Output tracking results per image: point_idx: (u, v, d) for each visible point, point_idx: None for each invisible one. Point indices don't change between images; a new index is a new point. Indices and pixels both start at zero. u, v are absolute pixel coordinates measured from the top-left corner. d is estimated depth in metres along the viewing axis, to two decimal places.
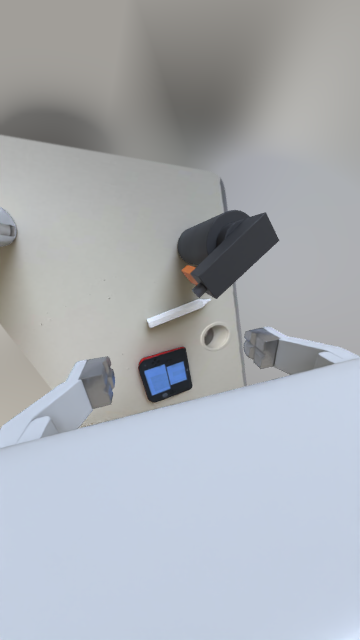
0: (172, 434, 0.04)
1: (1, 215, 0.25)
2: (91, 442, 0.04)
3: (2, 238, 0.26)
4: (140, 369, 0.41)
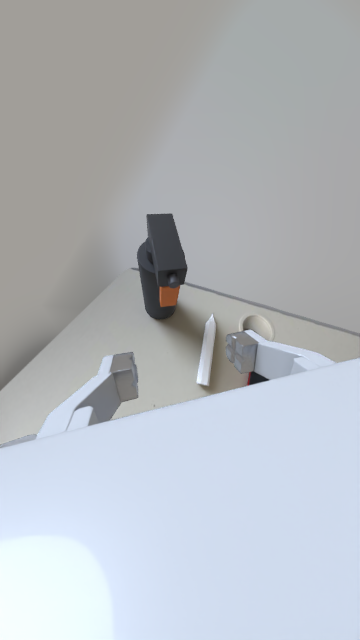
0: (172, 434, 0.04)
1: (27, 438, 0.25)
2: (90, 442, 0.04)
3: None
4: None
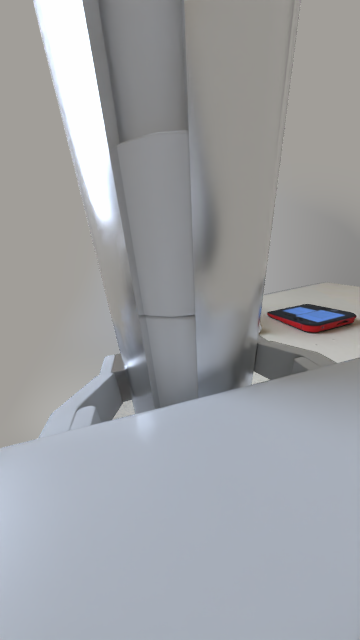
0: (172, 434, 0.04)
1: None
2: (90, 442, 0.04)
3: None
4: (318, 323, 0.35)
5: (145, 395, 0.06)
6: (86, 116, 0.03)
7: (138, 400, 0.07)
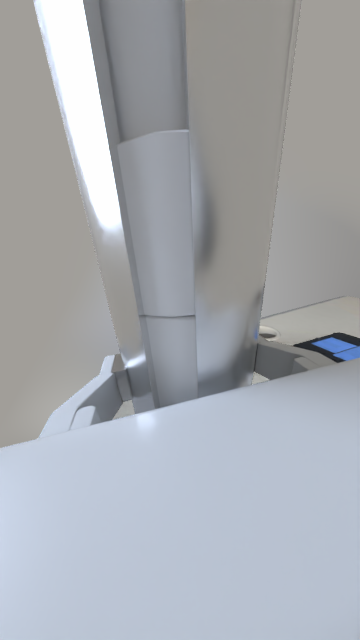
0: (172, 434, 0.04)
1: None
2: (90, 442, 0.04)
3: None
4: None
5: (145, 395, 0.06)
6: (86, 115, 0.03)
7: (138, 400, 0.07)
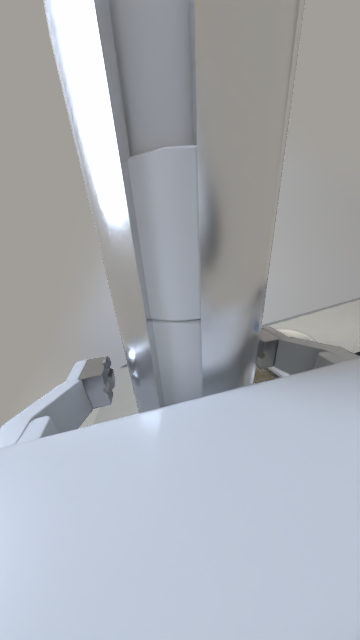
0: (172, 434, 0.04)
1: None
2: (91, 442, 0.04)
3: None
4: None
5: (150, 396, 0.07)
6: (98, 131, 0.04)
7: (143, 401, 0.07)
